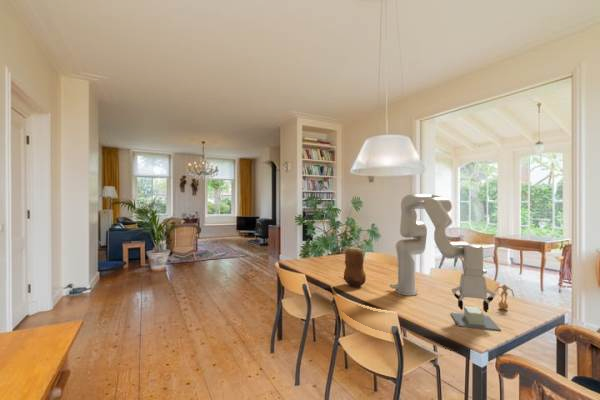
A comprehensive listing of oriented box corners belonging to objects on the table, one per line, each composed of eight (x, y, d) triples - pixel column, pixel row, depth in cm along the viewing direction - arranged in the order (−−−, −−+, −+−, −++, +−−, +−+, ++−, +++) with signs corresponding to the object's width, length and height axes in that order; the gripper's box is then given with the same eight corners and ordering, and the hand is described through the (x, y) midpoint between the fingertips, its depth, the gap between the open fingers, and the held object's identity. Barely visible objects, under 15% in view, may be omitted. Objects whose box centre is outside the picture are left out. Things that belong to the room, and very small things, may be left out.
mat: (458, 326, 122) (458, 325, 122) (450, 313, 135) (450, 312, 135) (500, 331, 117) (500, 329, 117) (488, 317, 130) (488, 316, 130)
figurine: (492, 307, 142) (491, 284, 142) (497, 304, 146) (496, 281, 146) (511, 312, 136) (511, 288, 136) (516, 309, 139) (515, 285, 139)
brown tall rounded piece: (362, 282, 188) (362, 245, 188) (368, 289, 174) (367, 248, 174) (342, 283, 187) (341, 245, 187) (346, 289, 174) (345, 249, 174)
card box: (464, 315, 131) (464, 306, 131) (477, 317, 130) (477, 307, 130) (469, 323, 123) (469, 313, 123) (484, 325, 121) (484, 315, 121)
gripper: (492, 271, 127) (492, 308, 128) (449, 268, 132) (449, 304, 133) (498, 275, 120) (498, 315, 120) (453, 272, 125) (453, 311, 125)
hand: (472, 309), depth 126 cm, fingers open, 9 cm apart
